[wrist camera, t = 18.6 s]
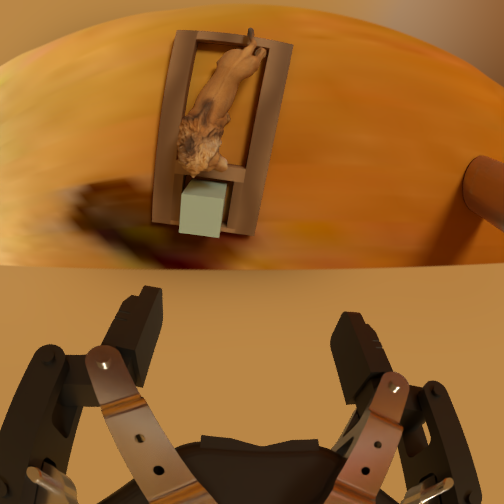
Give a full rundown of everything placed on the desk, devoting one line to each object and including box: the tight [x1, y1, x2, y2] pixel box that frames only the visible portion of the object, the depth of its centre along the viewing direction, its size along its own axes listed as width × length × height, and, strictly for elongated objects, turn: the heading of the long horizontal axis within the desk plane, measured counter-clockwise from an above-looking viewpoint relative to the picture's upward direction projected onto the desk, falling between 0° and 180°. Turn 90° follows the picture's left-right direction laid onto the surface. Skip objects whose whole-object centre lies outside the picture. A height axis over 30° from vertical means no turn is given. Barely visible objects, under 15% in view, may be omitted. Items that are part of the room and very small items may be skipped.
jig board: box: [152, 30, 293, 236], centre depth 27 cm, size 12×22×2 cm, turn 170°
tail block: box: [179, 179, 227, 238], centre depth 29 cm, size 4×4×6 cm
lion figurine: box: [177, 28, 266, 178], centre depth 21 cm, size 15×5×9 cm, turn 161°
